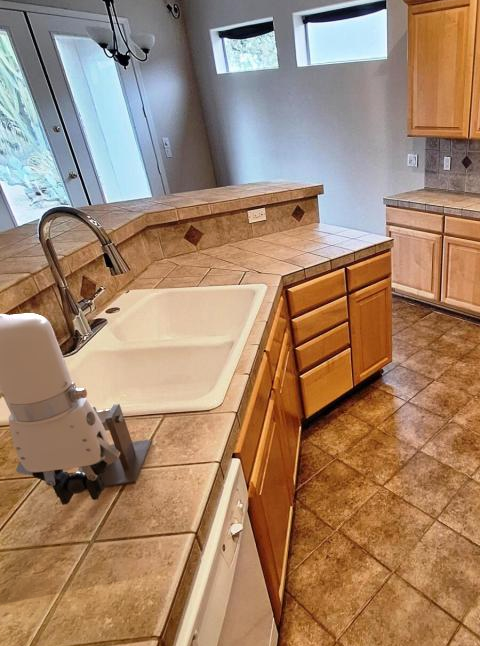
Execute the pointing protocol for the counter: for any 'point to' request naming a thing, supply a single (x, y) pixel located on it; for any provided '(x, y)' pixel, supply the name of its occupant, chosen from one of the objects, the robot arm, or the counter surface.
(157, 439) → the counter surface
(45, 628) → the counter surface
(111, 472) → the bracket
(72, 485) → the tap lever
